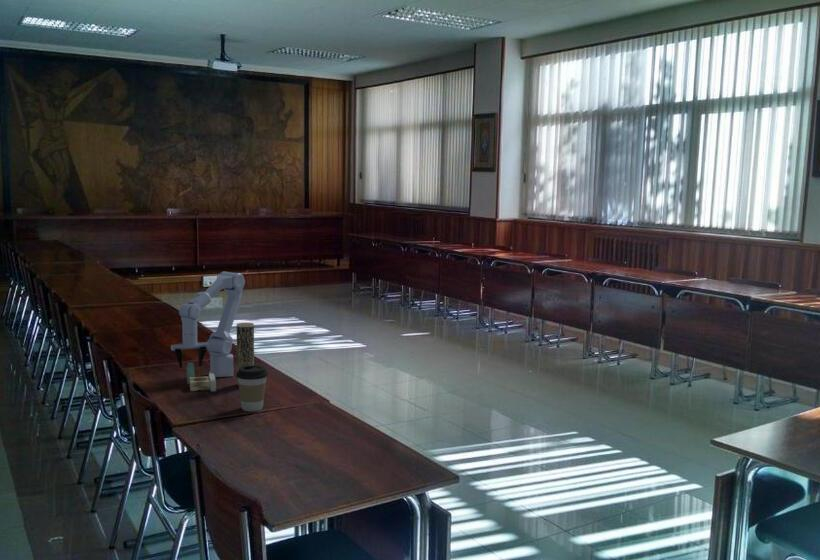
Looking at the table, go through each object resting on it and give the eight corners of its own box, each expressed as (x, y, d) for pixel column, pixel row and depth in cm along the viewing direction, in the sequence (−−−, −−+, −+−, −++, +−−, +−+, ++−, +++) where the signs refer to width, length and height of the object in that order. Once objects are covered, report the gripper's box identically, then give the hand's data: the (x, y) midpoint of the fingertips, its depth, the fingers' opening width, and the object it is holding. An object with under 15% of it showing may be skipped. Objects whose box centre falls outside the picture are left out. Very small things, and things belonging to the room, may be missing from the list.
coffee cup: (251, 402, 278) (251, 363, 276) (274, 407, 272) (274, 367, 270) (229, 409, 268) (229, 369, 266) (253, 415, 262) (252, 374, 260)
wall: (214, 382, 302) (213, 373, 302) (216, 391, 291) (215, 381, 290) (208, 383, 302) (208, 373, 301) (210, 391, 290) (210, 381, 290)
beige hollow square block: (209, 384, 300) (209, 376, 299) (210, 389, 292) (210, 381, 292) (189, 385, 297) (189, 377, 297) (190, 391, 290) (190, 382, 290)
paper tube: (256, 383, 303) (256, 323, 300) (251, 387, 297) (250, 326, 293) (240, 382, 304) (239, 322, 301) (234, 386, 297) (234, 325, 294)
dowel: (194, 381, 303) (194, 362, 302) (194, 383, 300) (194, 364, 299) (186, 382, 302) (186, 363, 301) (187, 384, 299) (186, 365, 298)
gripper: (205, 330, 306) (206, 362, 307) (169, 332, 299) (169, 365, 300) (209, 333, 299) (210, 366, 301) (172, 336, 293) (173, 369, 294)
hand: (190, 366), depth 300 cm, fingers open, 7 cm apart
